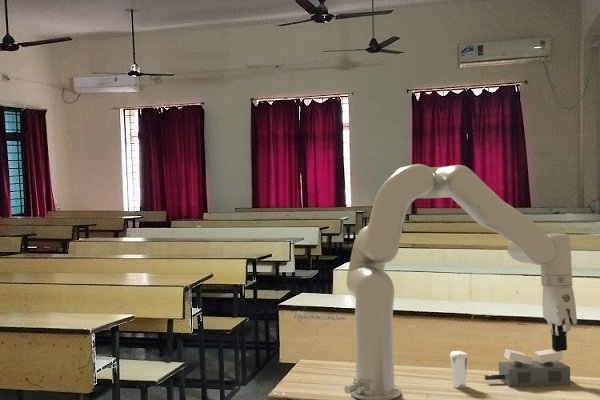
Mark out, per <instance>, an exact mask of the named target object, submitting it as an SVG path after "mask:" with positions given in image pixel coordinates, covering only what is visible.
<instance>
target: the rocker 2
mask: <svg viewBox="0 0 600 400" xmlns="http://www.w3.org/2000/svg"><path fill="white" fill-rule="evenodd" d="M563 355H564V354H563V351H555V350H554V349H552V348H550V349H543V350H537V351H533V356H534V357H533V358H534V361H538V362H540V363H544V362H550V361H556V360H558V361H561V360H564V356H563Z"/></svg>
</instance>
